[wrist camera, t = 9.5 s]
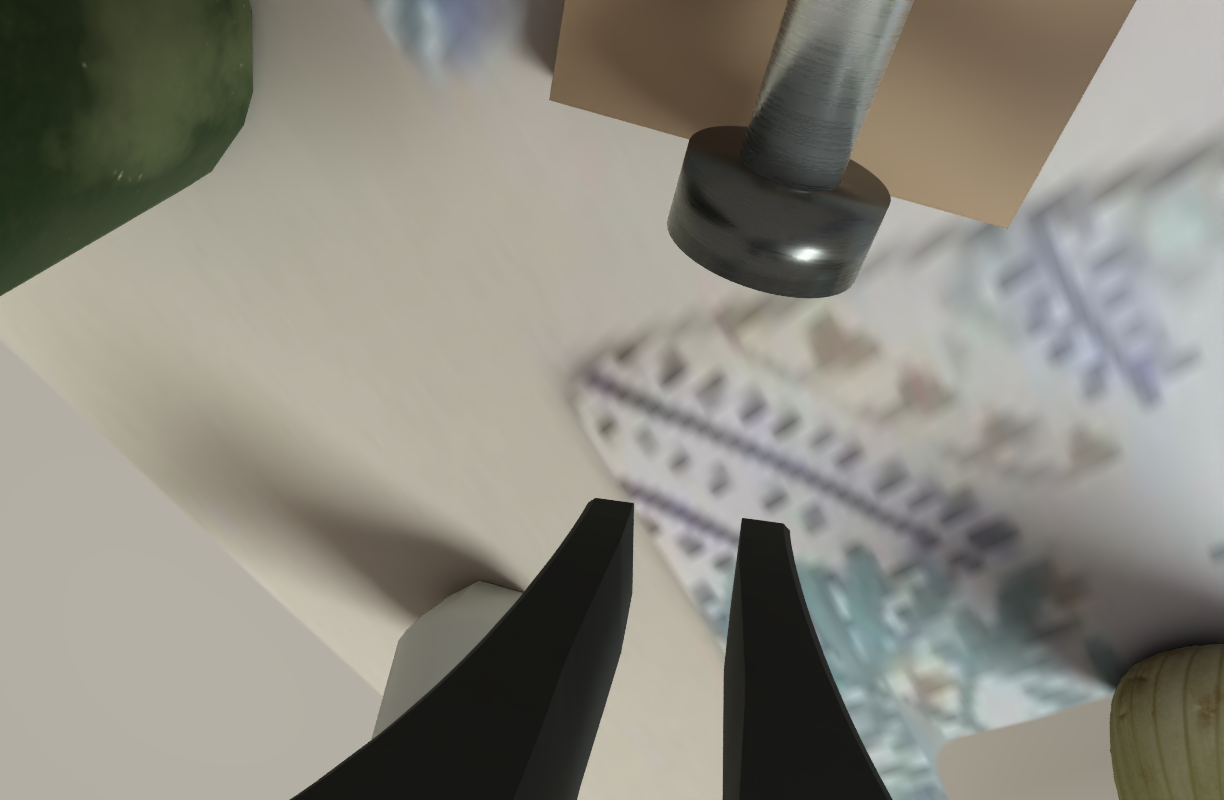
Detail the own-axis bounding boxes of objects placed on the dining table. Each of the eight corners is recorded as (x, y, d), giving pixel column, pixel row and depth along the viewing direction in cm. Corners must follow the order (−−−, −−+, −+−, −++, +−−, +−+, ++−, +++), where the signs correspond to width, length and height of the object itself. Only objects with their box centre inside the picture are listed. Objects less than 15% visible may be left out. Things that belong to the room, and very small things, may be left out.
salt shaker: (394, 596, 30) (180, 996, 20) (494, 542, 27) (304, 979, 17) (501, 683, 32) (356, 1089, 22) (605, 641, 29) (494, 1087, 19)
